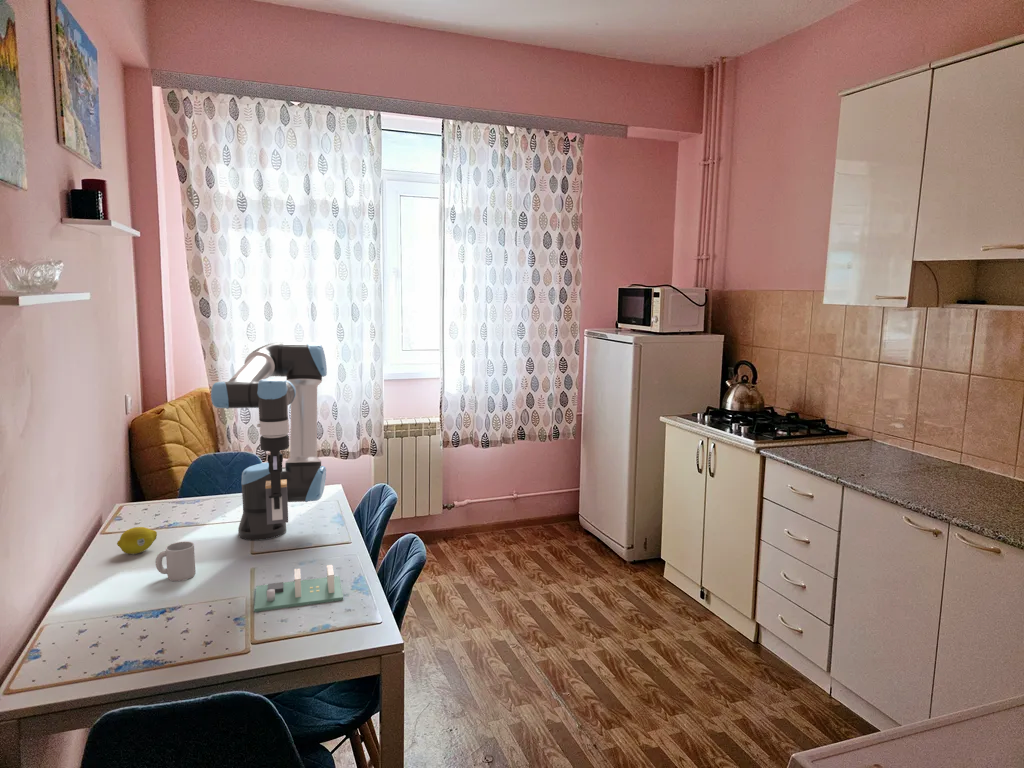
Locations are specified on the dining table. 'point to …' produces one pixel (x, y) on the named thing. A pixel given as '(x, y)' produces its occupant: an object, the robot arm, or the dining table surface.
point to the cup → (178, 561)
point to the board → (299, 592)
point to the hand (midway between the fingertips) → (277, 516)
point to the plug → (284, 503)
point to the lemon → (136, 540)
